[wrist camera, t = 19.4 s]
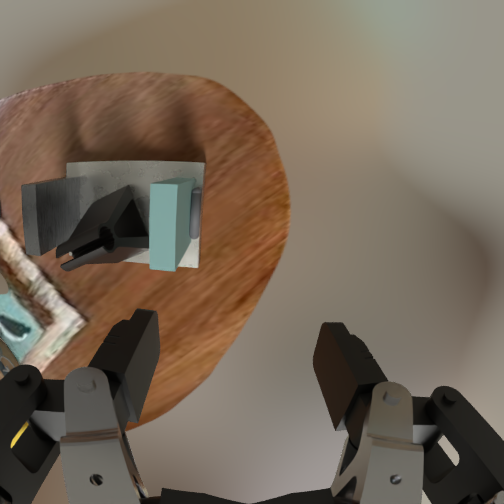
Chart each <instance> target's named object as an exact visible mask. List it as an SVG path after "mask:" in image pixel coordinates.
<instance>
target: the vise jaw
mask: <svg viewBox="0 0 504 504" xmlns="http://www.w3.org/2000/svg"><path fill="white" fill-rule="evenodd" d="M194 183H195V179H193V178H171V179H167V180H163V181H159V182H155V183H151V186H150V215H149V257H150V269H155V270H165V271H175V270H176V269H177V267H178V265H179V263H180V261H181V259H182V258H183V256H184V254H185V252H186V250H187V249H188V247H189V245H190V243H191V239H197V238H198V237H199V230H200V213H201V198H202V191H201V189H200V188H198V187H196V188H194Z"/></svg>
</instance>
